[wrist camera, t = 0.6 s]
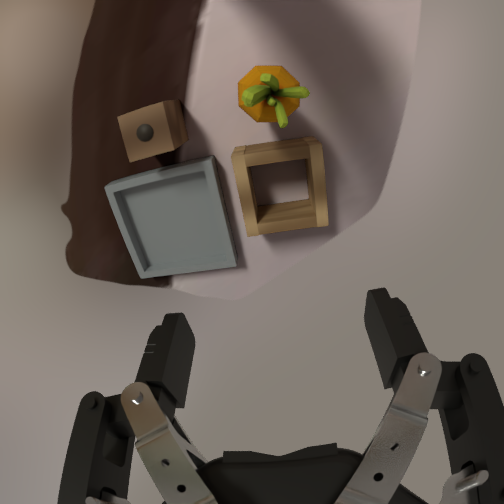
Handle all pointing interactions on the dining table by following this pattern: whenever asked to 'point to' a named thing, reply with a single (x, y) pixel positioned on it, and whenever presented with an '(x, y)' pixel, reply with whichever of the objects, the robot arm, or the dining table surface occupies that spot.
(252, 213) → the wooden crate
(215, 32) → the dining table surface
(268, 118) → the carrot
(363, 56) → the dining table surface
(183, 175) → the tray
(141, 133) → the walnut block
